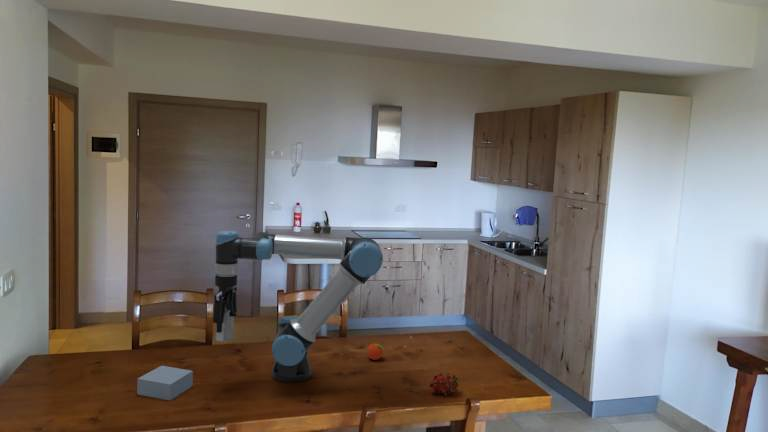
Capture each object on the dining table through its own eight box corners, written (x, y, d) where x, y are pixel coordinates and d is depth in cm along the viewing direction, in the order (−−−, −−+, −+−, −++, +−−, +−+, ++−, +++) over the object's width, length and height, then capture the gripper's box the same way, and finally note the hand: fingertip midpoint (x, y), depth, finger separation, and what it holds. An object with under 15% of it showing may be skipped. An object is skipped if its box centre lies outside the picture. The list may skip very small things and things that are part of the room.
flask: (229, 342, 193) (230, 314, 192) (210, 339, 195) (211, 312, 194) (238, 336, 200) (239, 309, 199) (220, 333, 202) (221, 307, 201)
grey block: (192, 386, 199) (192, 370, 199) (169, 401, 187) (170, 384, 186) (161, 381, 202) (161, 365, 202) (137, 395, 190) (137, 378, 189)
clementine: (387, 359, 237) (388, 343, 236) (378, 364, 231) (379, 347, 230) (372, 355, 241) (373, 339, 240) (363, 359, 235) (364, 343, 235)
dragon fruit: (460, 396, 207) (431, 404, 203) (451, 377, 213) (422, 384, 209) (465, 384, 201) (435, 392, 198) (455, 365, 207) (426, 371, 203)
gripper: (228, 268, 206) (226, 328, 208) (203, 279, 186) (201, 345, 188) (247, 270, 205) (245, 329, 207) (224, 281, 185) (222, 347, 187)
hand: (224, 337), depth 198 cm, fingers closed on flask, 7 cm apart
